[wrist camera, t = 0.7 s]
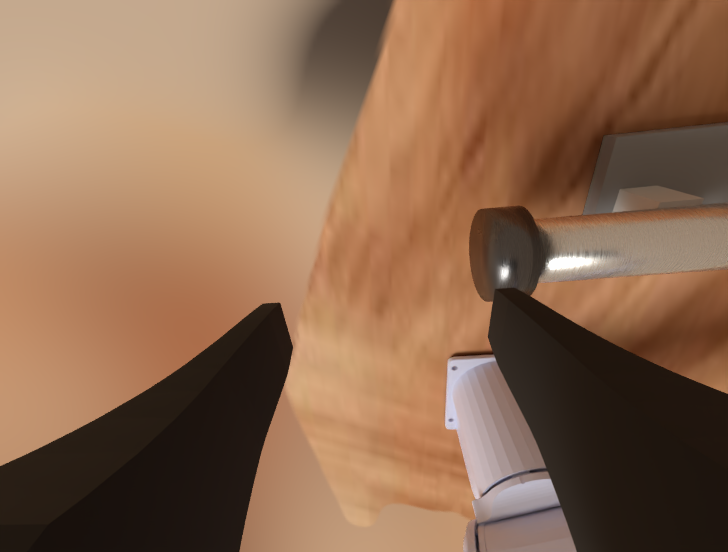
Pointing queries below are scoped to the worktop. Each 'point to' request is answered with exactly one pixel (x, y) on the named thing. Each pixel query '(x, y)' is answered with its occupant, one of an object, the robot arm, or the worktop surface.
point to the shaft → (593, 245)
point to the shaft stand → (660, 169)
